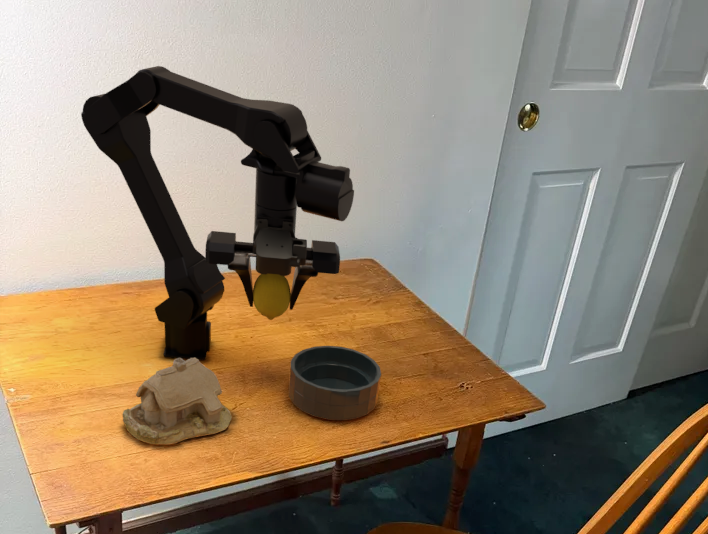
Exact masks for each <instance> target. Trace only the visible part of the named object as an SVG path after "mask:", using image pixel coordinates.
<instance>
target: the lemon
mask: <svg viewBox="0 0 708 534" xmlns="http://www.w3.org/2000/svg"><path fill="white" fill-rule="evenodd" d="M290 298H291V287H290V283H289V280H288V279H287V277H286V276H281V275H279V274H260V273H259V275H258V277H256V279H255V282H254V284H253V306H254V308H255V309H256V311H257V312H258V313H259V314H260V315H261V316H263V317H266V318H267V320H269V321H272V320H274V319H276V318H279V317H281V316H283V315H284V313H285V312H286V311H288V308H289V307H290Z"/></svg>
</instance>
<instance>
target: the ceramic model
mask: <svg viewBox="0 0 708 534" xmlns="http://www.w3.org/2000/svg"><path fill="white" fill-rule="evenodd" d="M218 378H219V377H217V375H216V374H215V371H213V370H211V369H210V368H208V367H206V366H205V364H203V363H202V362H201V361H200V360H198V359H197V358H190V359H182V358H174V359H173V362H172V365H171V366H167V367H165V368H163V369H159V370H156V371H155V373H154V374H153V375H151V376H149V378H148V379H146V380H144V381H143V382H142V383H141V385H140V386H139V387H138V389H137V391H136V393H135V396H136V397H137V398H140V402H141V403H138V404H136V405H134V406H133V407H130V408H127V409H123V411H122V413H121V414H122V415H121V416H122V422H123V424H124V425H125V428H126V430H127V432H128V433H129V434H130V435H131V436H132V437H134V438H135V439H136V440H138V441H141V442H144V443H147V444H150V445H172V444H177V443H180V442H183V441H185V440H187V439H193V438H197V437H202V436H203V437H204V436H207V435H208V436H210V435H214V434H217V433H219V432H222V431H225V430H227V428H229V425H230V423H231V421H232V417H233V416H232V414H231V411H230V410H229V408H228V407H226V406H225V405H223V403H222V401H221V400H220V399H219V397H218V396H220V395H222V394H223V390H222V387H221V385H220V381H219V379H218Z"/></svg>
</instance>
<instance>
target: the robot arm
mask: <svg viewBox="0 0 708 534" xmlns="http://www.w3.org/2000/svg"><path fill="white" fill-rule="evenodd" d="M160 106H162V107H164V108H168V109H170V110H173V111H176V112H179V113H181V114H184V115H186V116H189V117H192V118H195V119H197V120H200V121H203V122H204V123H208V124H211V125H213V126H216V127H219V128H222V129H224V130H226V131H228V132H230V133H231V134H233V135H235V136H236V137H237V138H238V139H239V141H241V142H242V144H244V145H246V146H247V147H249V148H251V151H250V153H249V154H248V155H246V156H245V157H244V158H242V159H241V160H240V164H241V165H242V166H244V167H249V168H253V169H255V193H254V194H255V195H254V223H253V225H254V226H253V233H252V235H253V237H252V242H245V241H237V233H236V232H228V231H217V230H211V231H210V232H209V233H208V234H207V238H206V242H205V251H204V252H205V253H204V254H205V256H204V255H203V254H201V253H200V251H199V250H197V249H196V248H195V246H194V243H193V242H192V240H191V238H190V236H189V233H188V230H187V229H186V227H185V225H184V221H183V220H182V218H181V216H180V213H179V211H178V209H177V207H176V205H175V203H174V200H173V198H172V195H171V194H170V191H169V190H168V188H167V185H166V183H165V181H164V179H163V177H162V174H161V173H160V172H161V171H160V170H159V167H158V165H157V164H156V161H155V159H154V157H153V155H152V146H151V145H152V143H151V142H152V141H151V140H152V139H151V132H152V131H151V127H150V124H149V123H150V122H149V120H148V117H147V116H150V114H152V113H153V112H154V111H155V110H157V109H158V108H159V107H160ZM80 115H81V121H82V124H83V126H84V128H85V129H86V131H87V133H88V134H89V136H90V138H91V139H92V141H93V142H94V143H95V145H96V146H97V148H98V149H99V150H100V151H101V152H102V153H103V154H104V155H105V156H106V157H108V158H109V159H110V160H111V161H112V162H113V163H115V164H116V165H117V167H118V168H119V170H120V172H121V174H122V177H123V179H124V181H125V183H126V185H127V188H128V189H129V191H130V194H131V195H132V197H133V200H134V202H135V204H136V206H137V207H138V210H139V212H140V214H141V216H142V218H143V220H144V222H145V224H146V227H147V229H148V231H149V233H150V235H151V237H152V239H153V242H154V243H155V246H156V247H157V249H158V251H159V253H160V255H161V257H162V261H163V264H164V265H163V266H164V267H163V269H164V270H163V271H164V273H163V274H164V275H163V276H164V287H165V289H166V292H167V295H168V298H166V299H165V300H163V301H162V302H160V303H159V304H158V305H157V306H155V307H154V312H155V315H156V318H157V320H158V322H161V323H164V350H163V358H166V359H177V358H182V359H183V360H188V359H190V358H197V359H198V360H199V361H205V360H207V355H208V353H209V352H210V351H211V345H212V323H211V321H208V312H209V311H211V310H213V309H214V307H215V305H216V304H218V303H219V302H220V301H221V300H222V298H223V296H224V292H225V284H224V280H226V277H225V276H224V275H223V274H222V272H221V271H220V269H219V267H218V266H219V265H221V266H222V265H223V266H227V269H228V270H229V271H234V272H235V273H236V274H237V275H238V277H239V280H240V281H241V283H242V286H243V289H244V292H245V296H246V298H247V301H248V302H247V303H248V304H249V307H251V308H253V307H254V302H253V288H254V284H253V274H252V262H251V258H255V271H256V272H257V273H258V274H259V275H260V274H279V275H281V276H285V277H288V276H290V275H291V273H292V268H294V272H293V273H294V274H293V277H292V283H291V284H292V285H291V288H290V293H291V298H290V303H289V310H290V311H292V310H293V309H294V307H295V305H296V302H297V300H298V298H299V295H300V294H301V291H302V289H303V287H304V286H305V284H306V283H307V281H308V280H309V279H310V278H317V277H318V275H319V274H329V275H337V274H339V273H340V266H341V253H340V248H339V246H338V244H337V243H336V242H335V241H326V240H316V239H315V240H314V239H312V240H311V245H310V247H308V240H307V239H304V238H298V237H296V227H297V226H296V224H297V210H298V209H297V208H300V209H301V211H302V212H303V213H307V214H311V215H315V216H319V217H324V218H327V219H329V220H330V219H331V220H334V221H338V222H344V221H346V220H347V218H348V216H349V215H350V212H351V210H352V206H353V202H354V196H355V189H354V184H353V181H352V178H351V177H350V175H351V169H350V167H346V166H342V165H331V164H327V163H323V162H321V161H322V155H321V154H320V152H319V150H318V149H317V146H316V144H315V143H314V140H313V139H312V136H311V135H310V133H309V131H308V125H307V119H306V118H305V116H304V114H303V111H302V110H301V109H300V108H299V107H298V106H296V105H294V104H293V103H292V104H291V103H287V102H281V101H276V100H275V101H274V100H269V99H268V100H266V99H250V98H244V97H242V96H238V95H235V94H234V93H233V94H232V93H230V92H227V91H225V90H221V89H220V88H216V87H213V86H211V85H209V84H205V83H203V82H200V81H197V80H195V79H192V78H189V77H186V76H184V75H181V74H178V73H176V72H173V71H171V70H170V69H168V68H167V67H164V66H161V65H155V66H152V67H146V68H142V69H139V70H138V71H137V72H136V73H135V74H134V75H132V76H131V77H130V78H129V79H127V80H126V81H124V82H123V83H121V84H119V85H117V86H116V87H114V88H112V89H111V90H109V91H107V92H105V93H102V94H97V95H93V96H90V97H88V98H87V99H85V102H84V103H83V106H82V111H81V113H80ZM292 151H297V153H296V154H293V153H292Z"/></svg>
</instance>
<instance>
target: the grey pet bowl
mask: <svg viewBox="0 0 708 534" xmlns="http://www.w3.org/2000/svg"><path fill="white" fill-rule="evenodd" d="M289 365H290V366H289V377H288V398H289V399H290V401H291V403H292V404H293V405H294V406H295V407H296V408H298V409H299V410H300V411H302V412H304V413H306V414H308V415H310V416H312V417H315V418H319V419H324V420H330V421H347V420H349V421H350V420H356V419H359V418H362V417H365V416H367V415H368V414H369V413H370V412H371V413H372V411H373V410H374V409H375V408H376V406H377V403H378V399H379V392H380V385H381V380H382V371H381V367H380V365H379V364H378V363H377V361H376V360H375V359H373V358H372V357H370V356H369V355H367V354H366V353H363V352H360V351H358V350H356V349H353V348H348V347H344V346H339V345H319V346H312V347H308V348H304V349H302V350H300V351H298V352H297V353H295V354H294V355H293V357H292V358H291V359H290V364H289Z"/></svg>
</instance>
